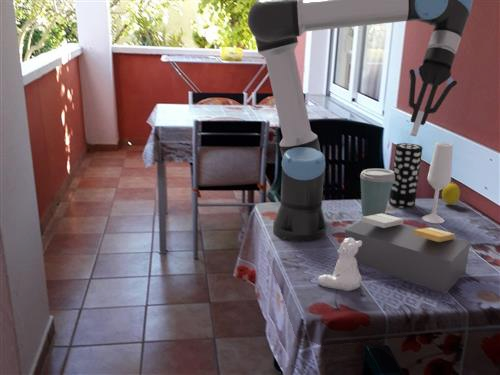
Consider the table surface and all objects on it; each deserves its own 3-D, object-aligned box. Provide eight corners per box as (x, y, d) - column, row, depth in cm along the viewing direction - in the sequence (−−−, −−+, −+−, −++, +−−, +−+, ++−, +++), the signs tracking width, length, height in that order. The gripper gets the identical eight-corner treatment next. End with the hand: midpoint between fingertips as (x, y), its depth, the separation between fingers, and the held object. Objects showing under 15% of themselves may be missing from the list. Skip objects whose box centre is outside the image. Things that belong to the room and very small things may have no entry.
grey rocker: (381, 218, 131) (382, 213, 131) (402, 223, 127) (404, 218, 127) (361, 221, 122) (362, 216, 121) (384, 227, 118) (385, 222, 118)
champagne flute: (449, 221, 152) (461, 145, 145) (432, 224, 150) (443, 147, 142) (433, 214, 158) (444, 140, 151) (417, 216, 156) (427, 142, 148)
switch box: (368, 241, 137) (371, 214, 134) (465, 271, 121) (470, 241, 118) (342, 258, 126) (345, 229, 124) (445, 293, 111) (450, 261, 108)
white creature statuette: (340, 271, 120) (345, 225, 116) (371, 285, 114) (376, 237, 110) (315, 284, 114) (319, 235, 110) (346, 299, 108) (350, 248, 104)
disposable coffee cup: (350, 217, 154) (355, 171, 149) (362, 207, 162) (367, 163, 158) (384, 225, 148) (390, 177, 144) (394, 214, 157) (400, 169, 152)
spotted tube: (414, 201, 169) (422, 144, 163) (414, 209, 162) (422, 150, 155) (389, 198, 172) (396, 142, 165) (388, 206, 164) (395, 147, 158)
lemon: (437, 202, 169) (440, 180, 167) (453, 202, 170) (456, 179, 167) (445, 208, 164) (448, 185, 162) (461, 207, 165) (464, 184, 162)
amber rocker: (429, 232, 123) (430, 227, 123) (454, 239, 120) (455, 233, 119) (412, 234, 114) (414, 229, 114) (438, 242, 110) (440, 236, 110)
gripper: (463, 61, 135) (435, 143, 137) (415, 49, 138) (388, 130, 139) (469, 53, 128) (439, 140, 129) (419, 40, 131) (390, 126, 132)
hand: (413, 135), depth 134 cm, fingers closed
